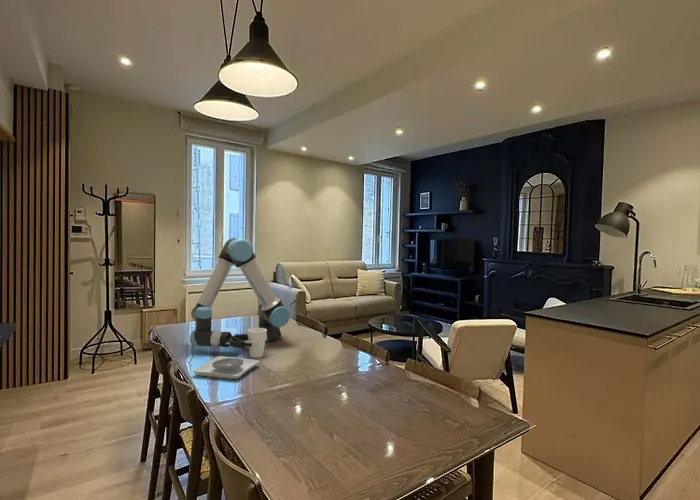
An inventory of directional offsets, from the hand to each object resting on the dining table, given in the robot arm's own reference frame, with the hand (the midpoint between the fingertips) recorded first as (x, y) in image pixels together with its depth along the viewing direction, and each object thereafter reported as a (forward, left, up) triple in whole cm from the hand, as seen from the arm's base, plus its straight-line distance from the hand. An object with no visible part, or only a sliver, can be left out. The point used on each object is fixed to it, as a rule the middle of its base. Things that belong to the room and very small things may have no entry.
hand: (263, 341), depth 192 cm
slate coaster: (+21, +15, -4) cm, 26 cm away
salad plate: (+21, +15, -8) cm, 27 cm away
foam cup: (+3, -2, -8) cm, 8 cm away
